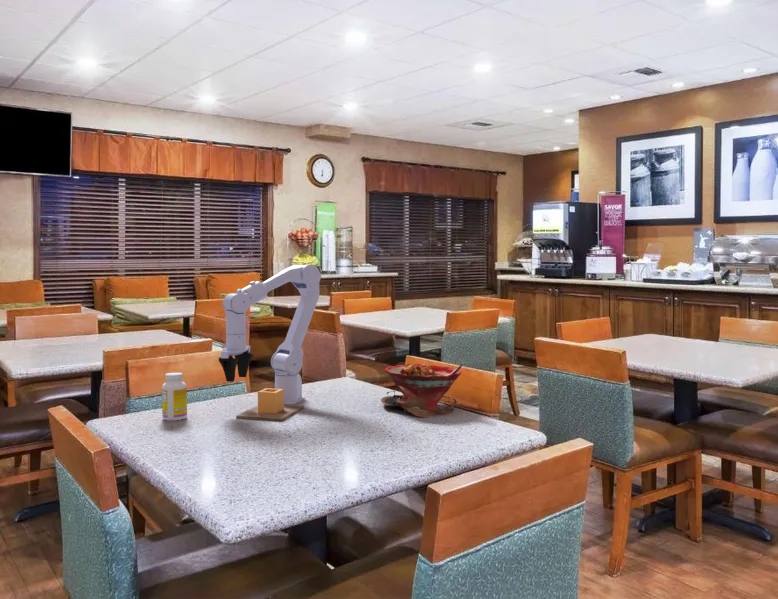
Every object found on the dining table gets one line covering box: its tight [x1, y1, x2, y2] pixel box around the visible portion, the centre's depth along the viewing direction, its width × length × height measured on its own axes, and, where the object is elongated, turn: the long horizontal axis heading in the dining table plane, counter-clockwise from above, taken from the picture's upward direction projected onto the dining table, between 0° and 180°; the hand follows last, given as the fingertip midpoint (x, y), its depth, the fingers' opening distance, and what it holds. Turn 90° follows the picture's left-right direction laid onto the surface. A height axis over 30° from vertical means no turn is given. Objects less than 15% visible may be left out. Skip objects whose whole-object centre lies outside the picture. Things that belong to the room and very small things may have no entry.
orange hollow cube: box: [257, 387, 285, 413], centre depth 192 cm, size 6×6×6 cm
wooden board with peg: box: [235, 404, 305, 422], centre depth 192 cm, size 16×14×6 cm
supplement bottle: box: [161, 372, 188, 422], centre depth 186 cm, size 7×7×13 cm
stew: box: [380, 361, 465, 419], centre depth 198 cm, size 28×24×16 cm
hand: (236, 379), depth 196 cm, fingers open, 7 cm apart
